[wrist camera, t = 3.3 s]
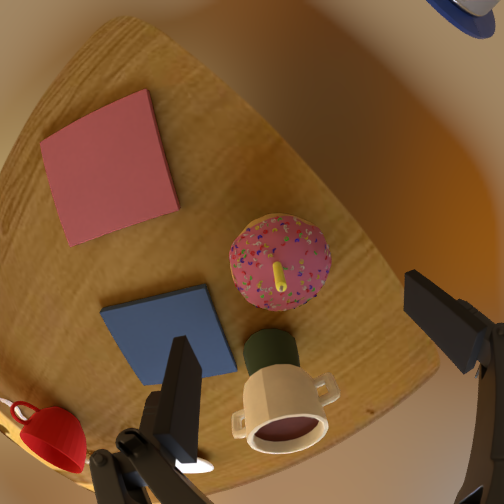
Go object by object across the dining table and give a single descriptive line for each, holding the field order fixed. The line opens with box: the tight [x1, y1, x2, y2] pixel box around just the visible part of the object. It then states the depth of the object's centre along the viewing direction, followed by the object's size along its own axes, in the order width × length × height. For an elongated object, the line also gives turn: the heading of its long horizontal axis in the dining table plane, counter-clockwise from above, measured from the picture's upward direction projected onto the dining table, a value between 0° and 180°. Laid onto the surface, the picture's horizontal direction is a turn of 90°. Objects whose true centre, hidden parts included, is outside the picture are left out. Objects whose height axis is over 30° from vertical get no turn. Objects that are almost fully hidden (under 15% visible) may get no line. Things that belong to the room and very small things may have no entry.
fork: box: [0, 398, 27, 420], centre depth 36 cm, size 3×20×2 cm, turn 36°
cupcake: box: [229, 213, 331, 312], centre depth 21 cm, size 9×8×12 cm
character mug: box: [232, 329, 340, 454], centre depth 25 cm, size 11×7×13 cm, turn 120°
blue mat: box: [100, 284, 237, 385], centre depth 29 cm, size 13×12×1 cm
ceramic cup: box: [10, 401, 87, 473], centre depth 30 cm, size 13×17×10 cm
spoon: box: [85, 457, 214, 473], centre depth 39 cm, size 9×32×4 cm, turn 112°
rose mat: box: [40, 89, 180, 247], centre depth 23 cm, size 13×12×1 cm
